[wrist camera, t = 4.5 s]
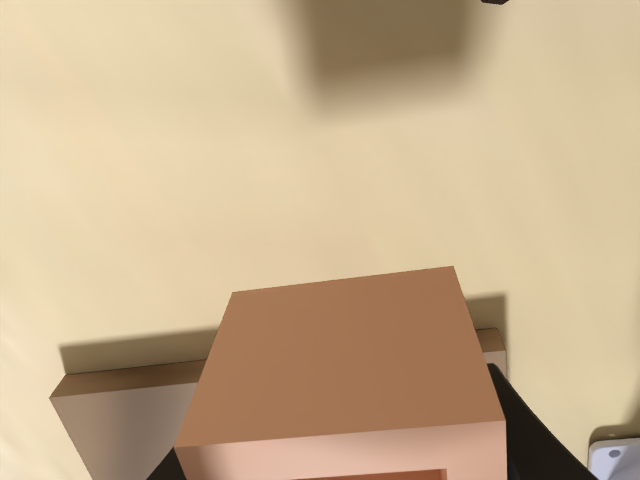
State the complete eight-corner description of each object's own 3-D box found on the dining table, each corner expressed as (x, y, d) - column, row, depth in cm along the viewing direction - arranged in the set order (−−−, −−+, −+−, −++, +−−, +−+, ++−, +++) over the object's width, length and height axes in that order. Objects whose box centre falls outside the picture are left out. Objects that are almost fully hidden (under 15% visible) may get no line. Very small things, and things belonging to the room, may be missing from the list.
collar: (453, 266, 13) (505, 420, 8) (464, 431, 15) (510, 619, 11) (232, 292, 14) (173, 447, 9) (277, 446, 16) (248, 629, 12)
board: (496, 327, 23) (505, 350, 21) (504, 536, 29) (512, 564, 27) (65, 375, 25) (48, 397, 24) (157, 557, 31) (148, 583, 30)
